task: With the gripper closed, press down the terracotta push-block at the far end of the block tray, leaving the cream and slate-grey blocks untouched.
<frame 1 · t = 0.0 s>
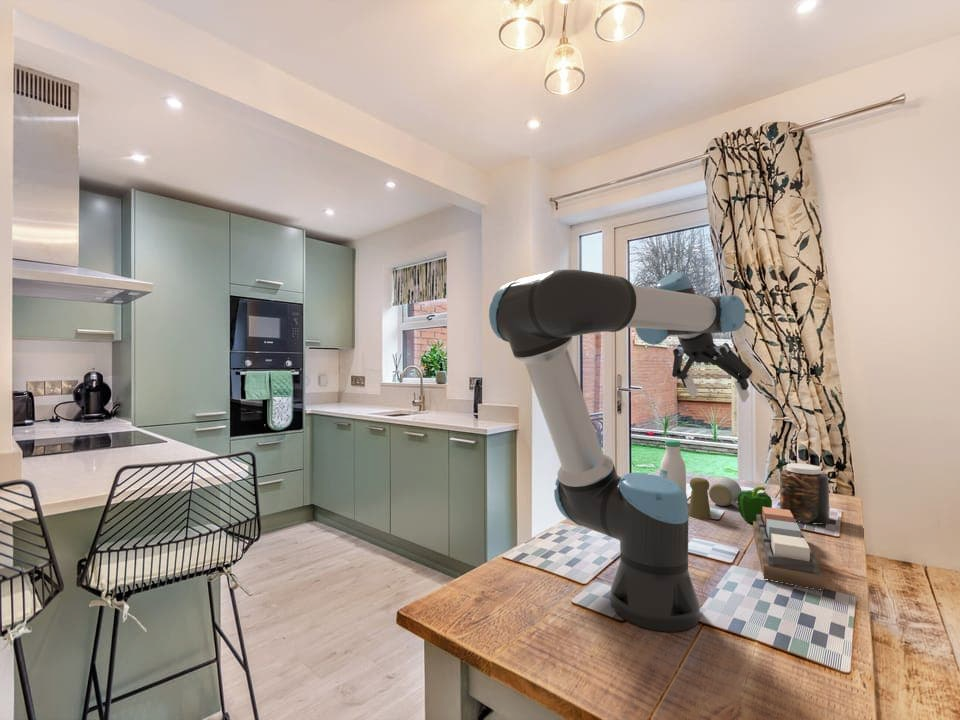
hand: (719, 397, 121), 36 cm above the table, tool tilted 35°, fingers open, 13 cm apart
cream block: (789, 547, 95), point 6 cm above the table, slide at 0.0 cm
milk bottle: (673, 503, 146), on the table
terracotta block: (777, 517, 114), point 6 cm above the table, slide at 0.0 cm
ceramic mug: (729, 505, 144), on the table
bell pepper: (754, 522, 128), on the table
pepper mill: (699, 516, 133), on the table
block tray: (783, 557, 104), on the table
jar: (804, 518, 131), on the table
slate block: (783, 531, 104), point 6 cm above the table, slide at 0.0 cm
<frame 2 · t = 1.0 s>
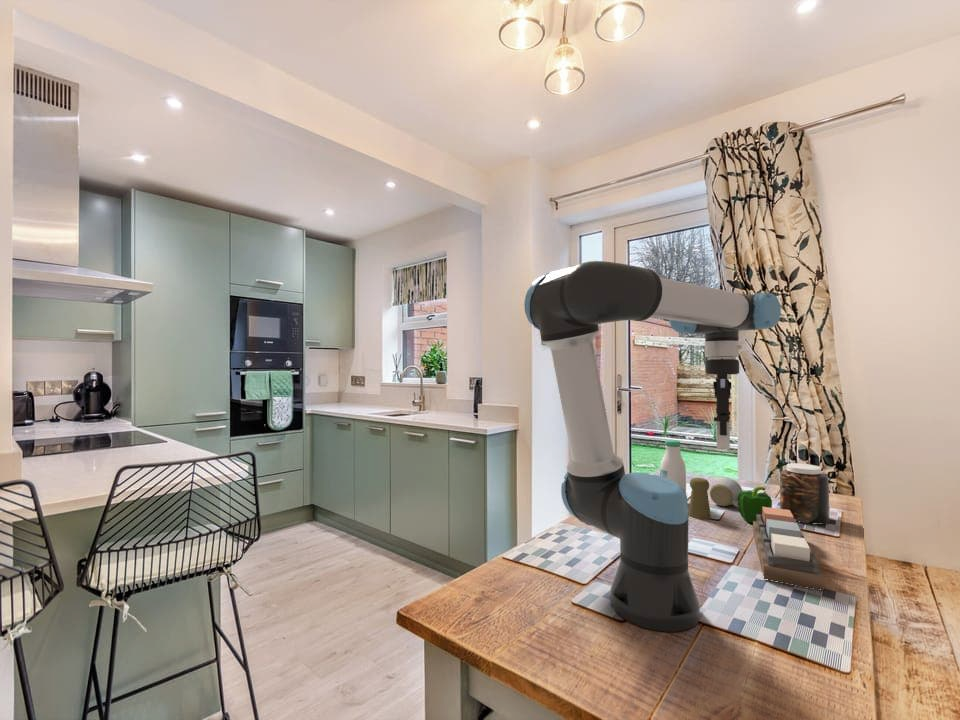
hand: (722, 444, 113), 25 cm above the table, tool pointing down, fingers open, 12 cm apart
nothing on the table moved.
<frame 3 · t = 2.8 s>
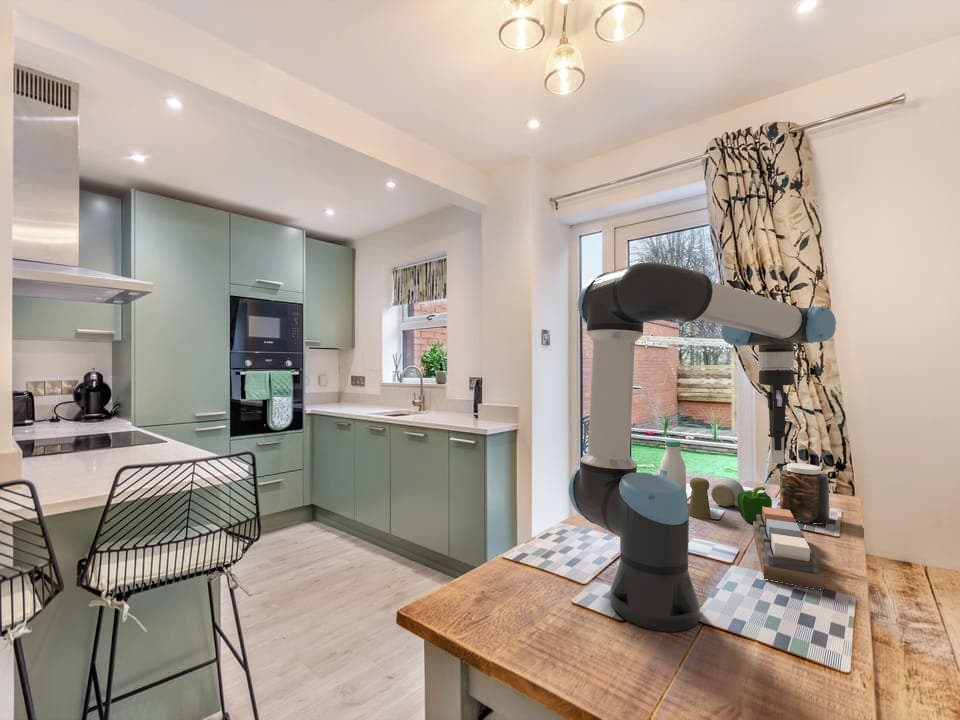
hand: (777, 462, 114), 20 cm above the table, tool pointing down, fingers closed
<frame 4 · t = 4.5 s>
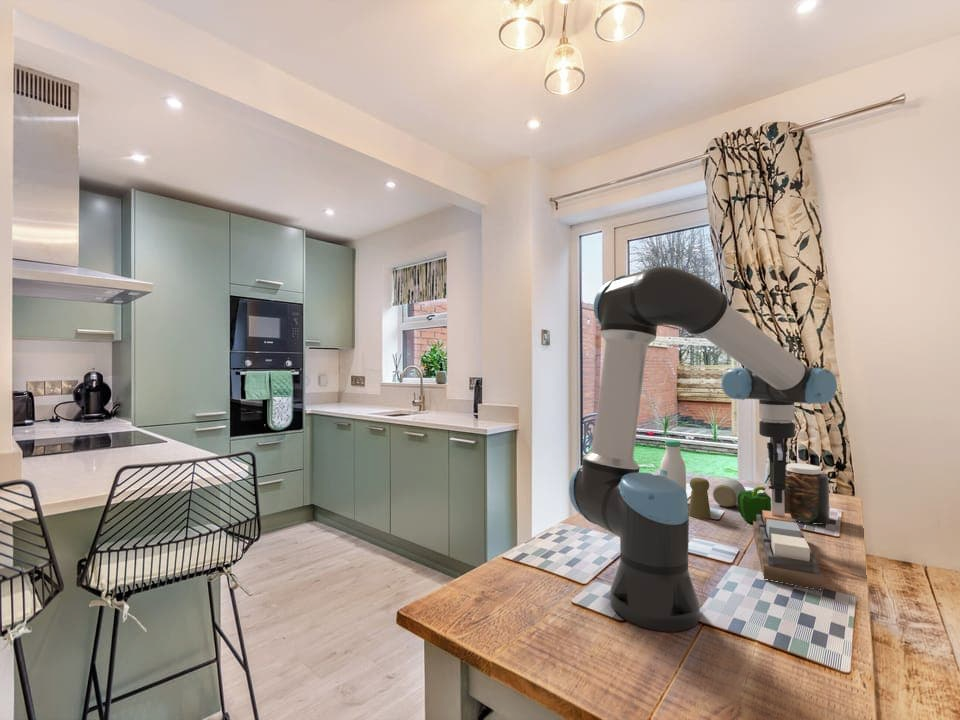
hand: (777, 514, 114), 7 cm above the table, tool pointing down, fingers closed
terracotta block: (777, 521, 114), point 5 cm above the table, slide at 0.9 cm, touching gripper
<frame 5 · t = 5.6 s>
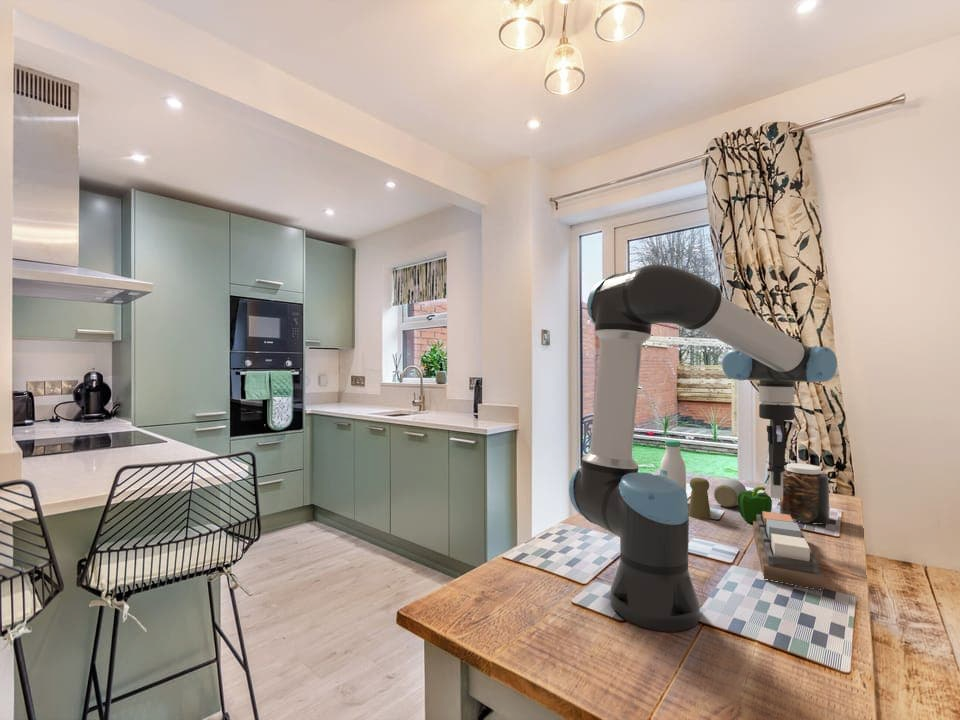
hand: (776, 497, 114), 11 cm above the table, tool pointing down, fingers closed
terracotta block: (777, 522, 114), point 5 cm above the table, slide at 1.2 cm
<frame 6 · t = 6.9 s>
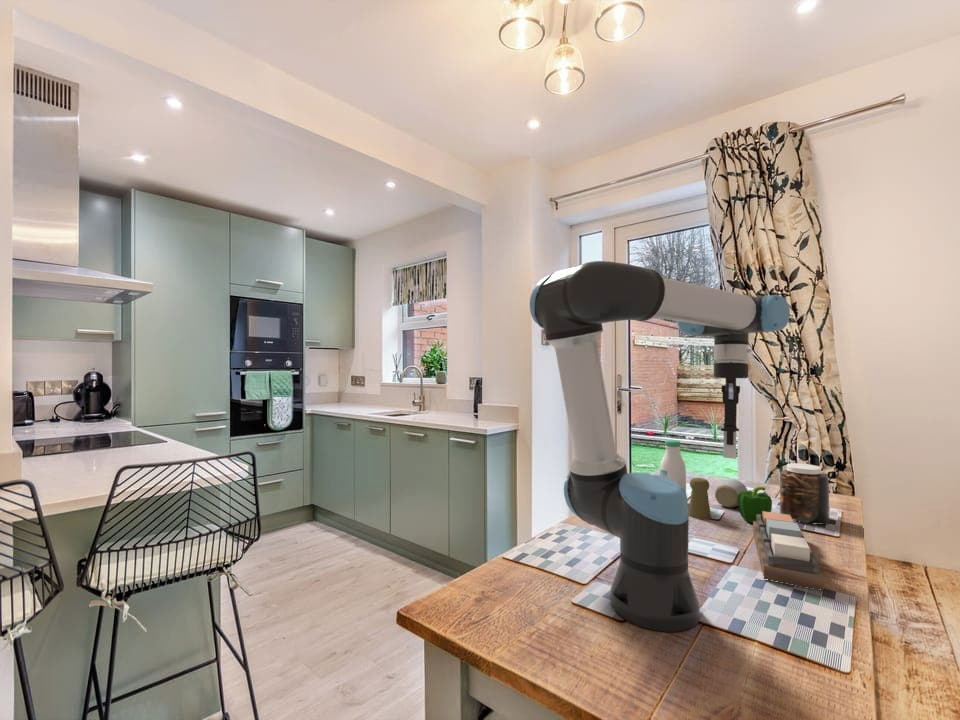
hand: (729, 457, 111), 22 cm above the table, tool pointing down, fingers closed
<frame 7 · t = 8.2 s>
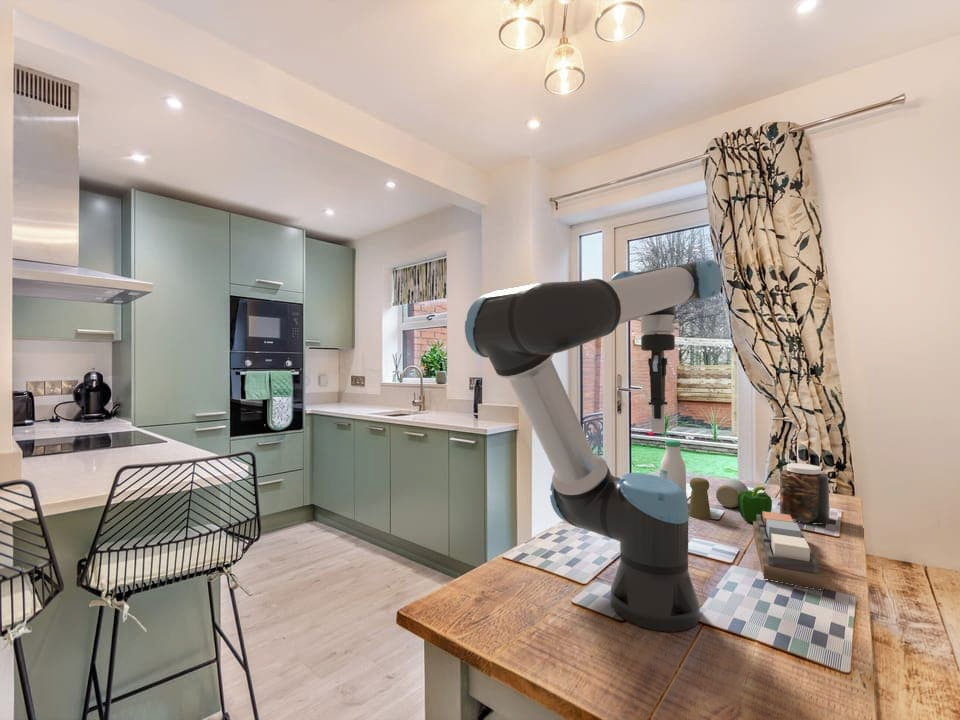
hand: (658, 431, 109), 28 cm above the table, tool pointing down, fingers closed
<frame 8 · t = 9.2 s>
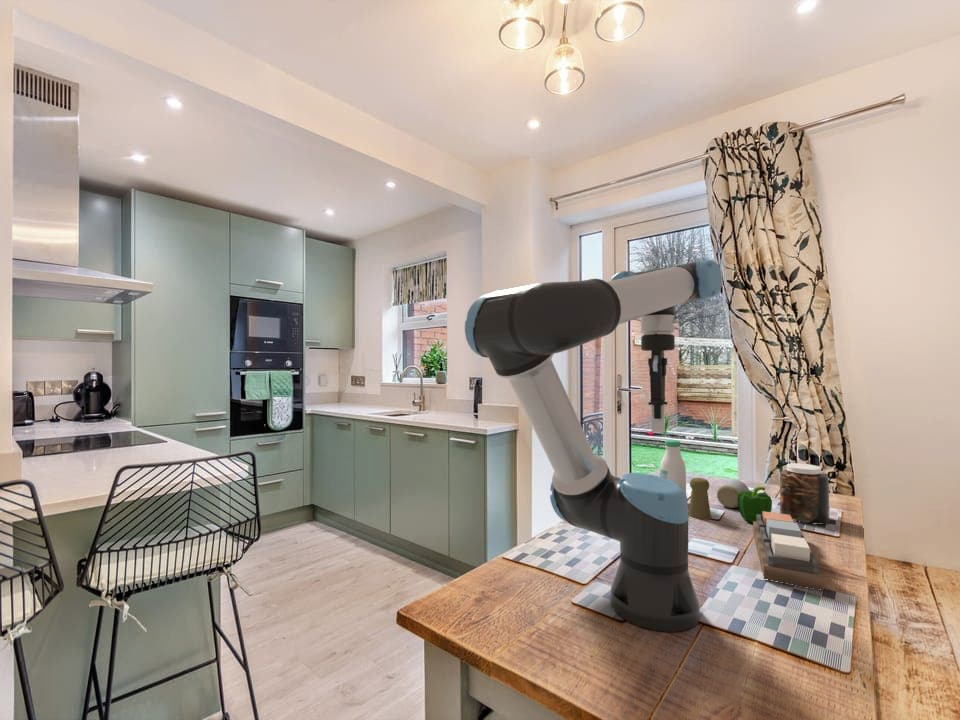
hand: (658, 431, 109), 28 cm above the table, tool pointing down, fingers closed
at the end: terracotta block slide at 1.2 cm; cream block slide at 0.0 cm; slate block slide at 0.0 cm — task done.
